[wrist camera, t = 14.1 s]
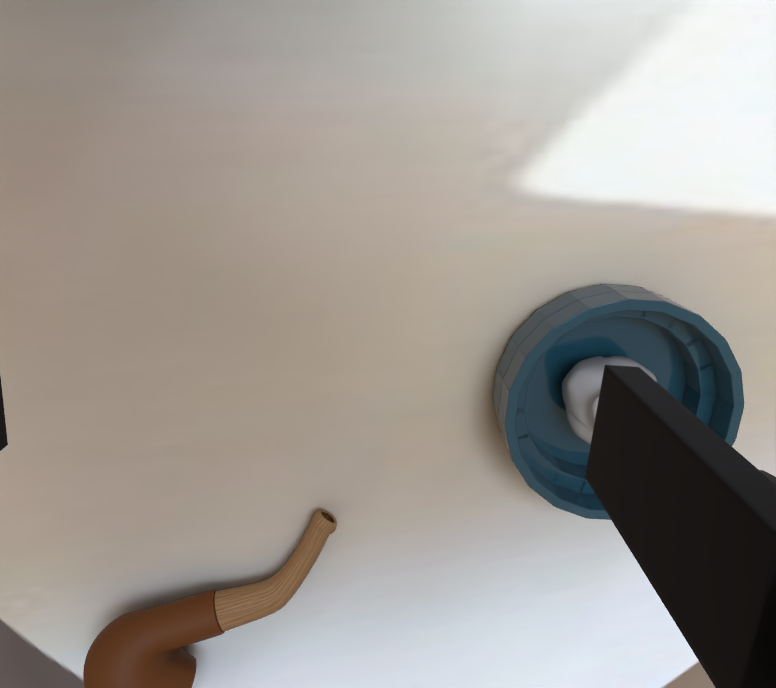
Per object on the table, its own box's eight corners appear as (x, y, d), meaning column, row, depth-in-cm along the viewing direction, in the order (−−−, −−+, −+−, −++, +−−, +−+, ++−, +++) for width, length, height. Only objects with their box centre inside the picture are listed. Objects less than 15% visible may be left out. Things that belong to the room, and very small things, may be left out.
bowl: (506, 274, 39) (522, 291, 34) (726, 289, 39) (769, 308, 35) (480, 476, 43) (492, 513, 38) (680, 487, 43) (715, 525, 39)
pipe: (83, 634, 46) (42, 705, 40) (271, 458, 42) (255, 508, 36) (166, 694, 47) (138, 771, 42) (354, 530, 44) (351, 588, 38)
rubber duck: (588, 325, 39) (640, 370, 32) (671, 384, 40) (741, 441, 33) (532, 396, 40) (569, 456, 33) (614, 451, 42) (668, 520, 34)
